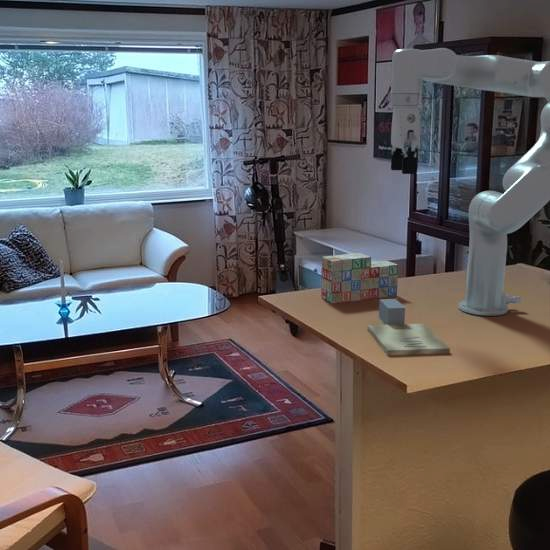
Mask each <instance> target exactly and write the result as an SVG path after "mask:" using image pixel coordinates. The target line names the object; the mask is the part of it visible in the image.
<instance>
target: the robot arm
mask: <svg viewBox="0 0 550 550" xmlns="http://www.w3.org/2000/svg"><path fill="white" fill-rule="evenodd" d="M391 58H392V59H391V82H390V83H391V84H390V105H389V106H390V107H389V108H393V109H392V110H393V111H392V118H391V120H392V121H391V131H390V132H391V133H390V145H391V152H390V153H391V157H390V160H391V161H390V170H392V171H401V173H402V174H403V175H415V174H416V164H417V150H418V149H420V147H421V111H420V109H421V108H422V102H423V101H422V100H423V96H422V95H423V81H425V82H428V83H434V84H441V85H448V86H455V87H456V86H457V87H463V88H469V89H475V90H480V91H487V92H488V91H489V92H495V93H496V92H497V93H504V94H510V95H516V96H522V97H529V98H545V99H546V101H547V103H546V104H545V105H544V107H543V108H542V110H541V113H540V134H539V137H538V139H537V141H536V143H534V145H533V146H532V147H530V149H529V150H528V151H527V152H526V153H525V154H524V155H522V156H521V158H519V159H518V160H517V161H516V162H515V163H513V165H512V166H511V167H510V168H508V169H507V171H506V172H505V174H504V176H503V177H502V188H503V190H504V191H505V192H504V193H502V192H499V191H495V190H485V191H481V192H479V193H477V194H476V195H475V196H474V197H473V198H472V199H471V201H470V203H469V206H468V225H469V226H468V227H469V243H468V244H469V245H468V255H467V257H468V258H467V269H466V285H465V299H464V300H462V301H460V302H459V303H458V309H459V310H461V311H462V312H463V313H467V314H470V315H475V316H476V315H477V316H484V317H485V316H486V317H488V316H489V317H490V316H502V315H504V314H507V313H508V312H509V311H508V310H509V308H508V305H509V304H520V303H521V296H520V295H511V294H506V293H505V292H504V285H505V278H506V277H505V275H506V262H507V253H508V234H512V233H514V232H516V231H517V230H519V229H520V228H522V227H523V226H524V225H525V224H526V223H527V222H528V221H529V220H530V219H532V218H533V217H534V216H535V215H536V214H537V213H538V212H539V211H540V210H541V209H542V208H543V207H544V206H545V205H547V204H548V203H549V202H550V60H547V61H537V60H536V61H535V60H528V59H521V58H516V57H511V56H503V55H498V54H484V55H460V54H459V55H458V54H456V52H455V51H453V50H452V49H449V48H447V47H438V48H432V49H417V48H400V49H396V50H395V51H393V53H392V57H391Z"/></svg>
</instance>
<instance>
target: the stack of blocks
mask: <svg viewBox="0 0 550 550" xmlns="http://www.w3.org/2000/svg"><path fill="white" fill-rule="evenodd" d="M321 265H322V266H321V271H320V272H321V274H320V275H321V277H320V278H321V292H320V293H321V295H320V297H322V298H324V299H325V300H324V299H323V300H324V301H326V300H327V301H326V302H328V301H329V302H328V303H330V302H331V303H330V304H335V303H334V302H340V303H348V302H347V301H349V302H357V300H358V301H364V300H363V299H365V300H370V299H371V300H373V299H378V298H379V299H381V298H388V297H396V296H398V281H399V276H398V273H399V269H398V268H399V264H397V263H394V262H392V261H388V260H379V261H377V260H376V261H372V257H371V256H370V255H366V254H364V253H361V252H356V253H343V254H338V255H337V254H336V255H335V254H334V255H326V256H321ZM322 298H321V299H322ZM372 298H373V299H372Z"/></svg>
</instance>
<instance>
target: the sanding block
mask: <svg viewBox="0 0 550 550" xmlns="http://www.w3.org/2000/svg"><path fill="white" fill-rule="evenodd" d="M378 307H379V308H378V309H379V310H378V322H380V323H381V325H394V324H405V318H406V307H405V305H403V304H402V303H401V302H400V301H399V300H397V298H387V299H386V298H385V299H384V298H383V299H381V298H379V305H378Z"/></svg>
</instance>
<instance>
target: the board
mask: <svg viewBox="0 0 550 550" xmlns="http://www.w3.org/2000/svg"><path fill="white" fill-rule="evenodd" d="M367 332H368V333H369V334H370V335H371V336H372V337H373V339H374V340H375V341H376V343H377V344H378V345H379V346H380V348H381V350H383V352H384V353H385V354H386V356H391V357H392V356H416V355H439V354H440V355H441V354H442V355H443V354H450V351H451V347H449V346H448V345H447V343H445V342H444V341H443V340H442V339H441V338H440V337H439V336H438V335H436V334H435V333H434V332H433V331H432V330H431V328H430V327H428V325H426V324H425V323H406V324H405V323H404V324H394V325H383V324H373V325H372V324H370V325H369V324H368V325H367Z"/></svg>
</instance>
